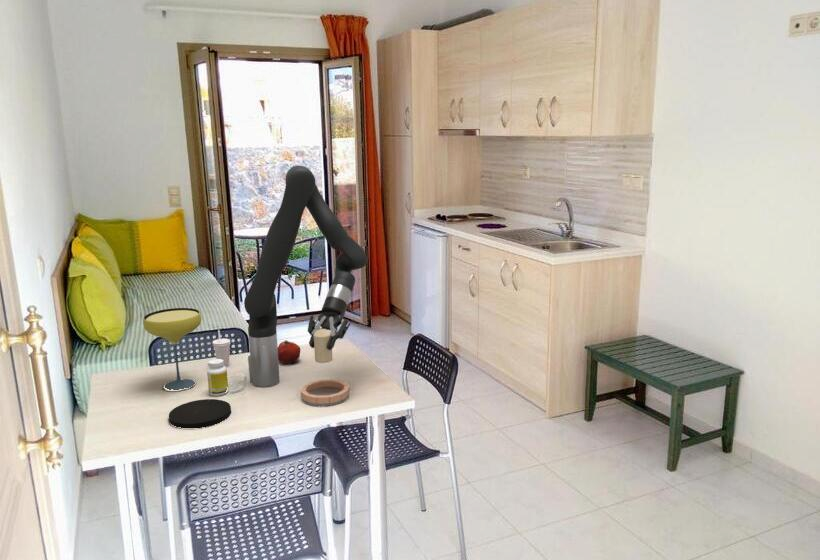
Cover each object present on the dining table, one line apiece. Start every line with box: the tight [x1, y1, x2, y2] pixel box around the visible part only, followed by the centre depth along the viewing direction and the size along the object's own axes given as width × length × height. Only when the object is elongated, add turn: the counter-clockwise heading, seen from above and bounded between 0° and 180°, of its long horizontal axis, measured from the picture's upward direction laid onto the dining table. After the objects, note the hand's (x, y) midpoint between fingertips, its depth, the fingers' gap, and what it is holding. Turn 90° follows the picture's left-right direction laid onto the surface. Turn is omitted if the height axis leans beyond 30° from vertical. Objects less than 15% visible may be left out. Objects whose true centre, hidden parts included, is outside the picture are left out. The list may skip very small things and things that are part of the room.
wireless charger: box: [168, 398, 232, 429], centre depth 193 cm, size 18×18×2 cm
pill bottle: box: [206, 358, 229, 397], centre depth 209 cm, size 6×6×11 cm
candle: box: [313, 329, 333, 364], centre depth 202 cm, size 6×6×10 cm
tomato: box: [277, 340, 301, 364], centre depth 238 cm, size 9×9×8 cm
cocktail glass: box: [142, 307, 202, 390], centre depth 215 cm, size 18×18×25 cm
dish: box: [300, 378, 350, 408], centre depth 205 cm, size 15×15×3 cm
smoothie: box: [212, 329, 232, 368], centre depth 234 cm, size 6×6×14 cm
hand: (320, 347), depth 200 cm, fingers closed on candle, 5 cm apart
